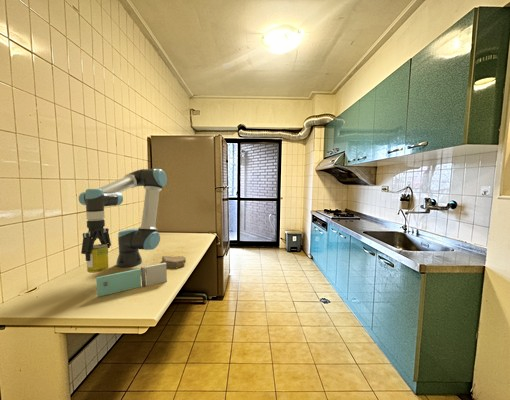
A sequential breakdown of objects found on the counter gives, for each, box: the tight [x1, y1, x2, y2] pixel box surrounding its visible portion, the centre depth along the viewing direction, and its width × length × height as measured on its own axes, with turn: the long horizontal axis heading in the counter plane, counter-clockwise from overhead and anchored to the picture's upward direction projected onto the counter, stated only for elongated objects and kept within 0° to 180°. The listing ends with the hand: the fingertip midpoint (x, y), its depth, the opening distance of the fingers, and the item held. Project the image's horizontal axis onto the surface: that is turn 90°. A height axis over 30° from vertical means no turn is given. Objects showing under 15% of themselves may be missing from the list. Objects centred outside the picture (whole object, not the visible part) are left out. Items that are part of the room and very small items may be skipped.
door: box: [95, 268, 142, 298], centre depth 119 cm, size 3×19×9 cm, turn 126°
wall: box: [140, 262, 168, 288], centre depth 128 cm, size 3×20×10 cm, turn 126°
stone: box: [161, 255, 187, 269], centre depth 160 cm, size 17×15×4 cm
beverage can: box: [86, 243, 109, 274], centre depth 122 cm, size 9×9×12 cm
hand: (97, 263), depth 123 cm, fingers closed on beverage can, 9 cm apart
